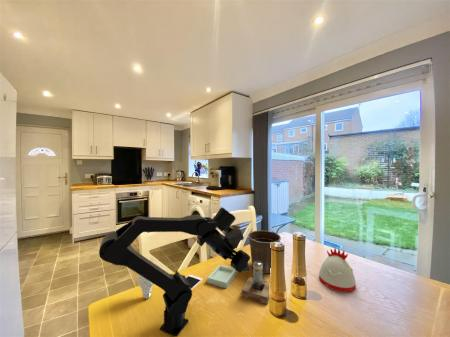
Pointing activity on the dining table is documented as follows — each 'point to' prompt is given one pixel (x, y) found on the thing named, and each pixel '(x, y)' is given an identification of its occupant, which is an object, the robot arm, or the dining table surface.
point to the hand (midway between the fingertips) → (242, 264)
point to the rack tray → (222, 276)
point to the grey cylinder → (257, 275)
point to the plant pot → (262, 247)
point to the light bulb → (145, 286)
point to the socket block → (256, 291)
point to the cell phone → (193, 280)
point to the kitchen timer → (337, 272)
